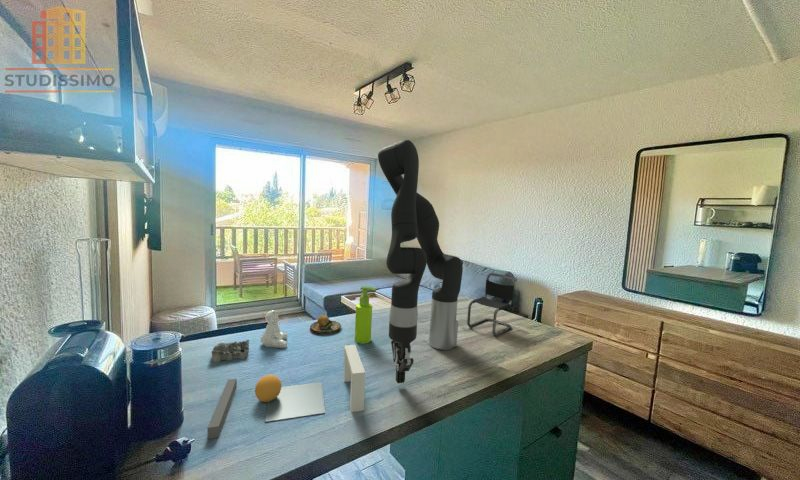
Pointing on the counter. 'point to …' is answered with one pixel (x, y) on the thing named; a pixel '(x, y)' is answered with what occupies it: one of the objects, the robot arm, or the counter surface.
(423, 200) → the robot arm
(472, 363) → the counter surface
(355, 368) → the bridge
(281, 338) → the seated beast figurine
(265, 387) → the ball
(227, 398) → the wall
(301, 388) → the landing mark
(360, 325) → the soap dispenser
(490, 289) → the chair
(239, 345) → the egg carton
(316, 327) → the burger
